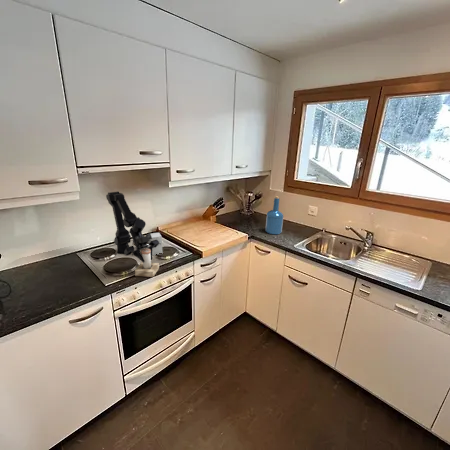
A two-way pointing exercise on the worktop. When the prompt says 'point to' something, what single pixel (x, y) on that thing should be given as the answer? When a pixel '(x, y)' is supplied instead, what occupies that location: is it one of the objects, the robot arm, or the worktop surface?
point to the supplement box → (159, 248)
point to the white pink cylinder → (146, 258)
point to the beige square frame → (147, 270)
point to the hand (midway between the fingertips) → (147, 260)
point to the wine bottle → (274, 219)
